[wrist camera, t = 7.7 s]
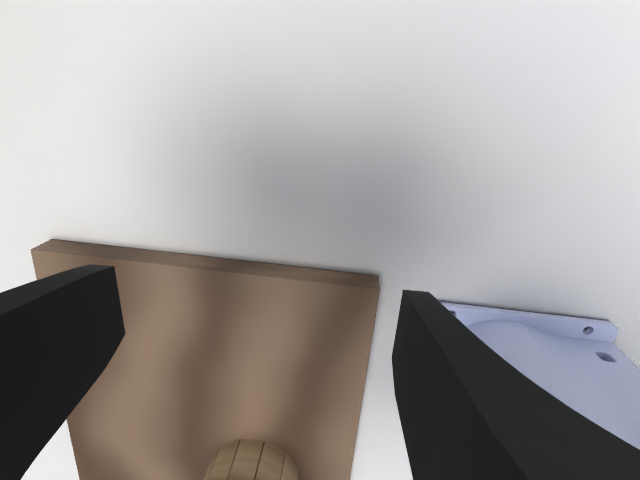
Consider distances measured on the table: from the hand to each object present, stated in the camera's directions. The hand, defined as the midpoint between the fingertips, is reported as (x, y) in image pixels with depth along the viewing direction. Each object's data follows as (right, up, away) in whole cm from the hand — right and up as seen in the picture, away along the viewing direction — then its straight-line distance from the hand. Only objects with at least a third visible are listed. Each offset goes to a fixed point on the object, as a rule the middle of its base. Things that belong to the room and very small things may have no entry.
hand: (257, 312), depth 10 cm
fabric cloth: (-5, -7, +15) cm, 17 cm away
